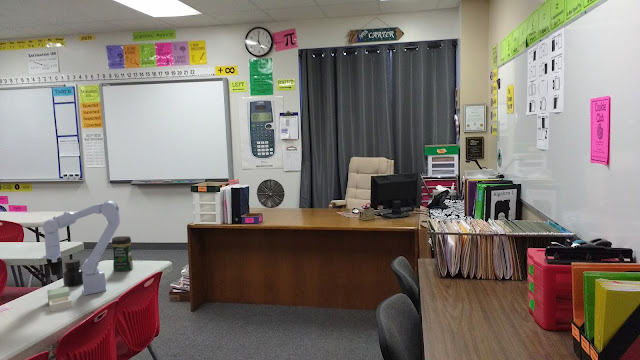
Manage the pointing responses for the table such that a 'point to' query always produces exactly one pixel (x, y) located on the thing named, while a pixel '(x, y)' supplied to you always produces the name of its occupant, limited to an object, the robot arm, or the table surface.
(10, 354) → the table surface
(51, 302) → the dish
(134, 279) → the table surface
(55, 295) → the lid
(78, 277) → the ink bottle
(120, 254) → the coffee jar
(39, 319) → the table surface
